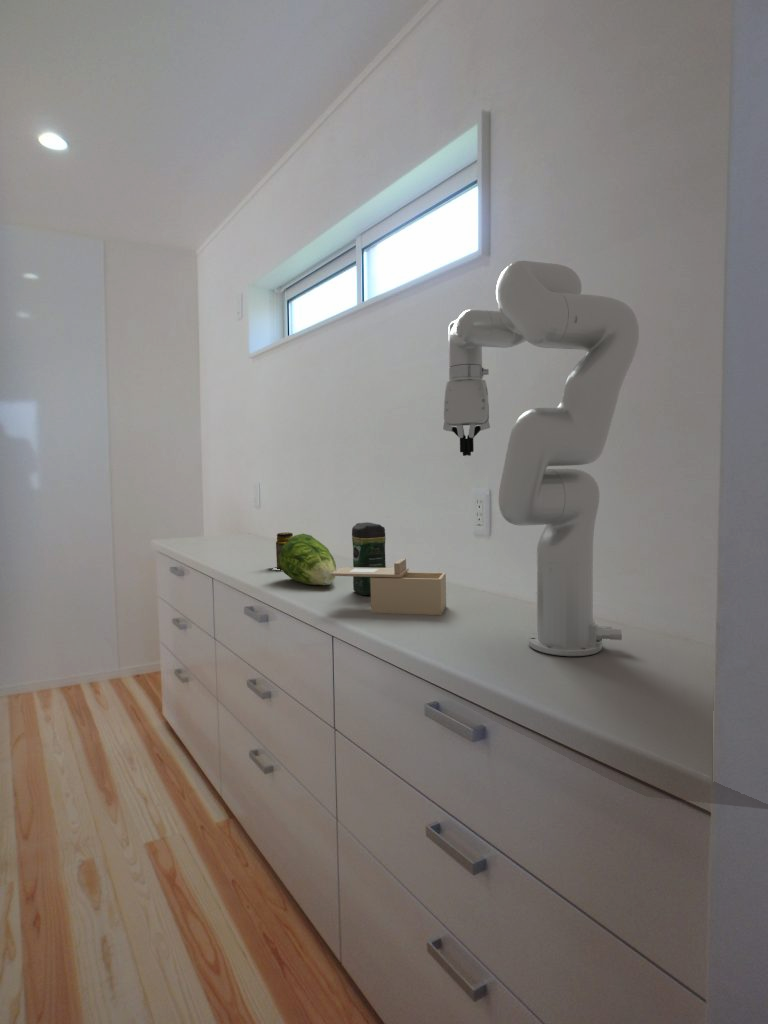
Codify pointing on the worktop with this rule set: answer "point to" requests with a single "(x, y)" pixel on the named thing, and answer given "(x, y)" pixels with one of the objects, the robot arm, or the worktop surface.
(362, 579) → the coffee jar
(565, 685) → the worktop surface
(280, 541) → the condiment
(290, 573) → the lettuce
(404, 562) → the lid
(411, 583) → the box
